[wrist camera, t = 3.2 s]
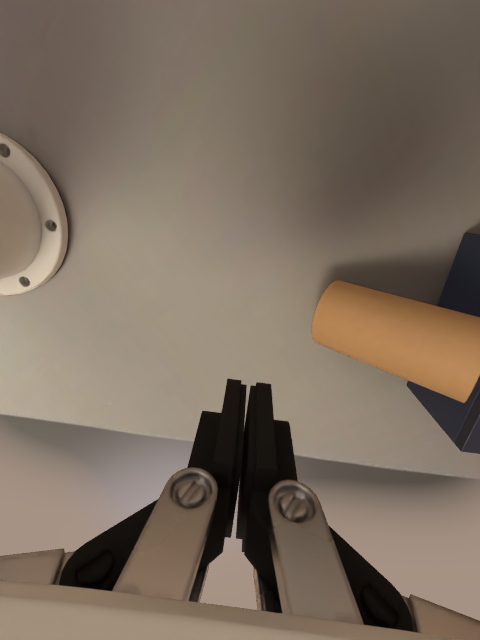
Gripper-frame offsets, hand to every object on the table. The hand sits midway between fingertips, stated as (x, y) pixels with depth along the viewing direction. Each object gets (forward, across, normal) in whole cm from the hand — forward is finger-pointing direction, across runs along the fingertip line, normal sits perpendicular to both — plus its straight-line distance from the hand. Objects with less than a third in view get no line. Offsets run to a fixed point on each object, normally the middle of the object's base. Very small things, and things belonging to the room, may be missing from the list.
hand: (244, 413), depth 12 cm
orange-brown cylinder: (+15, -10, 0) cm, 18 cm away
